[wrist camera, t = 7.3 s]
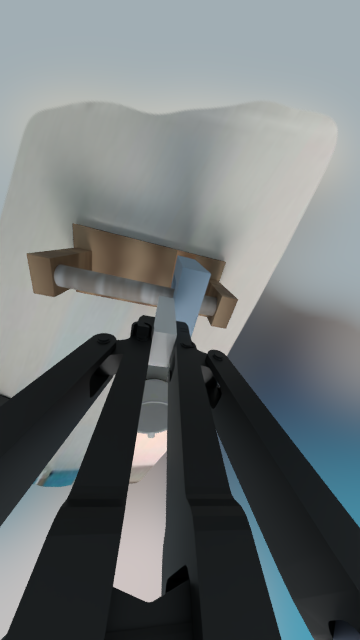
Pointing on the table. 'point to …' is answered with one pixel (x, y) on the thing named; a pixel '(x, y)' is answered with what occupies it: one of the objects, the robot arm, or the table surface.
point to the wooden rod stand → (124, 272)
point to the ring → (189, 289)
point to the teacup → (154, 408)
